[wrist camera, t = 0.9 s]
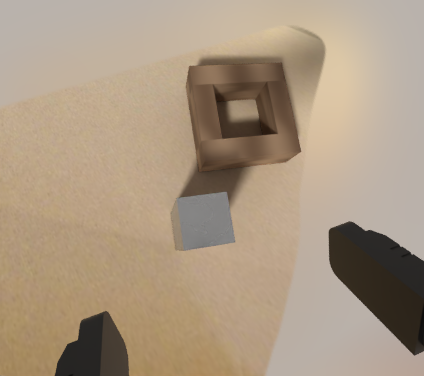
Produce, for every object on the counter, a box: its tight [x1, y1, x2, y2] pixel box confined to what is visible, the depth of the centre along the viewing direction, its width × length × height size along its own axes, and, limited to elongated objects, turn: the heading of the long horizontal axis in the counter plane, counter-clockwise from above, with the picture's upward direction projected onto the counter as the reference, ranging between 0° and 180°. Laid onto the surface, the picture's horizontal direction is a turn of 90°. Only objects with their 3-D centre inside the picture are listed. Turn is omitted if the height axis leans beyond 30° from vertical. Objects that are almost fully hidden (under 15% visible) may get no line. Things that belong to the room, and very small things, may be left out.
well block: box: [186, 63, 301, 172], centre depth 38 cm, size 12×12×4 cm
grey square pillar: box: [171, 192, 235, 251], centre depth 31 cm, size 4×4×11 cm
